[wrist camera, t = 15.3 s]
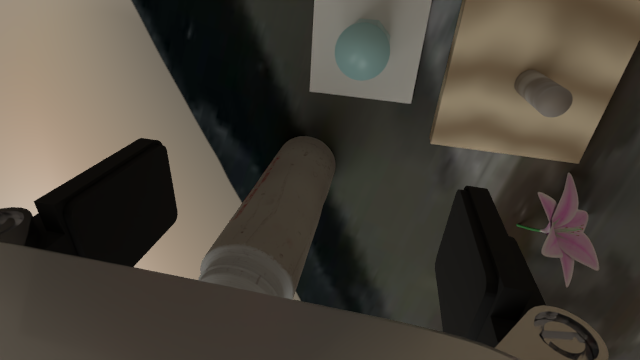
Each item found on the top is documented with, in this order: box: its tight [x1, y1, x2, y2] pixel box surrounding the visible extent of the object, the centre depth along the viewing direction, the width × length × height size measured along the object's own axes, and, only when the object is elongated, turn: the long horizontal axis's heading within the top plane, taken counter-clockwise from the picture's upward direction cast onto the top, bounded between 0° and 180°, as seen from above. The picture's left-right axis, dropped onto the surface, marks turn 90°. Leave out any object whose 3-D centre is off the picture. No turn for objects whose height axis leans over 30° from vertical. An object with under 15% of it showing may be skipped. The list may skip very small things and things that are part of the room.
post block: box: [429, 0, 640, 164], centre depth 33 cm, size 16×16×9 cm
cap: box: [335, 19, 390, 81], centre depth 35 cm, size 5×5×6 cm
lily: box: [517, 173, 599, 287], centre depth 41 cm, size 12×12×10 cm
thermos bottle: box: [199, 136, 336, 299], centre depth 35 cm, size 8×8×28 cm
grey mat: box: [310, 0, 432, 104], centre depth 38 cm, size 12×12×1 cm
